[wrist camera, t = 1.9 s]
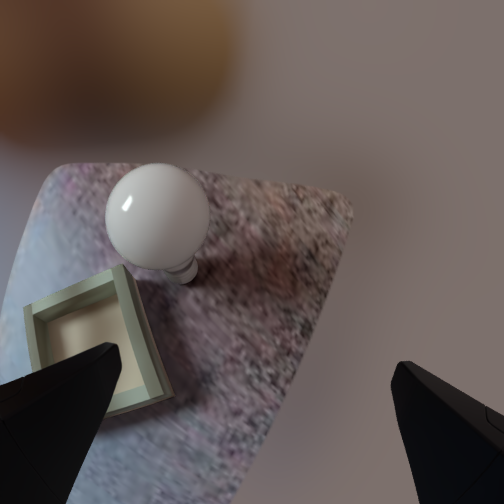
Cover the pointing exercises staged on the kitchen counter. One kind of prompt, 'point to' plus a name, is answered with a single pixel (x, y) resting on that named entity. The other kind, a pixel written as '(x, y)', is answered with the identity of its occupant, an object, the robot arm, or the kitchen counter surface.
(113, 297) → the open box
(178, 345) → the kitchen counter surface
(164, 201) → the lightbulb
